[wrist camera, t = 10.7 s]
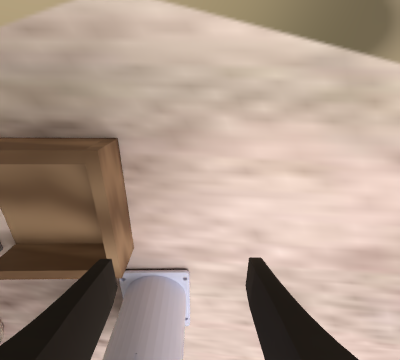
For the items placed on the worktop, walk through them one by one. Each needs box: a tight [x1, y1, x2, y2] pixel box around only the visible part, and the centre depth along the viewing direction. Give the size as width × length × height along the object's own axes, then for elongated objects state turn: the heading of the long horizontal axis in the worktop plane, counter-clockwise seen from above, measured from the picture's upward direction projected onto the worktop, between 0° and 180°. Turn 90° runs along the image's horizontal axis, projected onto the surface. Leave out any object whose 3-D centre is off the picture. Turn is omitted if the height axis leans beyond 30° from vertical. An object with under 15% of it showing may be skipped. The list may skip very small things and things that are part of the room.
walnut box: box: [0, 138, 134, 280], centre depth 18 cm, size 12×12×4 cm
